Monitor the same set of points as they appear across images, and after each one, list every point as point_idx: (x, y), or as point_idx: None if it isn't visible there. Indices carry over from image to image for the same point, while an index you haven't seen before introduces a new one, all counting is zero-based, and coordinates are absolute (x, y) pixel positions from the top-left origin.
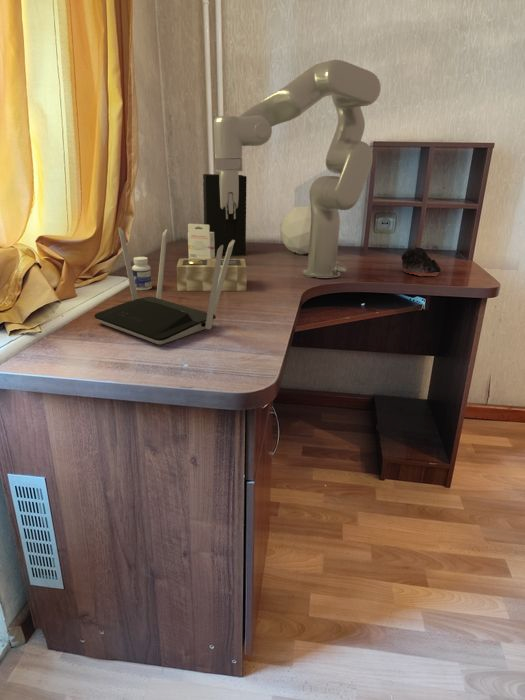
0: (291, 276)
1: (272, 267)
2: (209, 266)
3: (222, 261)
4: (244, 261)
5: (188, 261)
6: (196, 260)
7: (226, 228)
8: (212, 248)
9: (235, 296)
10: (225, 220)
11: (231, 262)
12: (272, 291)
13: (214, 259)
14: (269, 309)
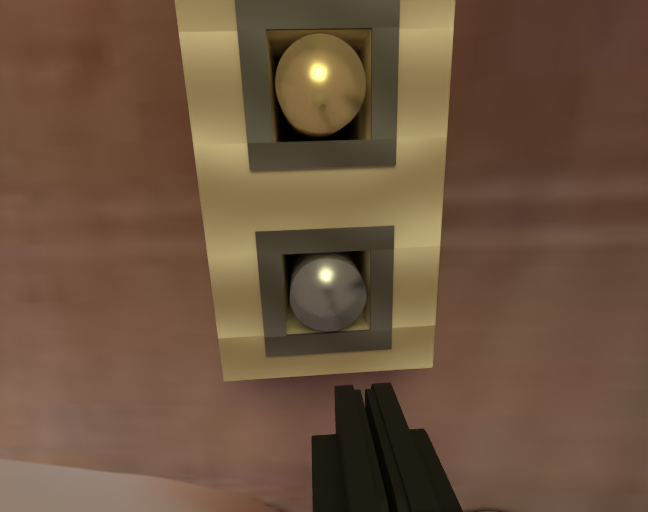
0: (462, 474)
1: (615, 419)
2: (216, 189)
3: (319, 263)
4: (367, 370)
5: (301, 38)
6: (339, 96)
7: (339, 423)
8: None
9: (157, 285)
10: (351, 501)
11: (295, 312)
12: (245, 409)
13: (419, 210)
14: (11, 395)
